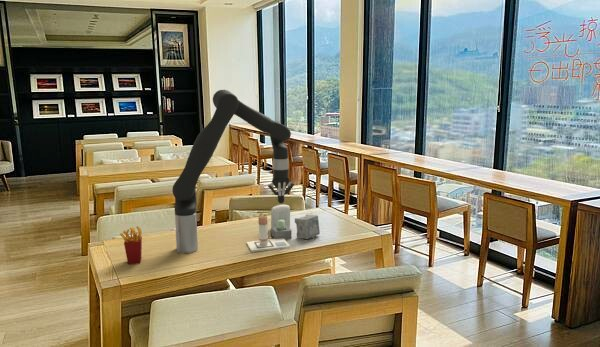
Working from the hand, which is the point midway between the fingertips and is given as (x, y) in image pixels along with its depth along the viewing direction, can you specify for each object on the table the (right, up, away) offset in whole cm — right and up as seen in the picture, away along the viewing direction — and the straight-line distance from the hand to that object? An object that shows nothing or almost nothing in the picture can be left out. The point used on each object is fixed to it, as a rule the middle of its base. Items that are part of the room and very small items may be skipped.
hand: (281, 202), depth 225 cm
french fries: (-62, -23, -26) cm, 71 cm away
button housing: (0, -17, +4) cm, 17 cm away
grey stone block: (+13, -17, +4) cm, 21 cm away
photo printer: (-1, -14, +16) cm, 21 cm away
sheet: (-6, -19, -8) cm, 22 cm away
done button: (0, -15, +3) cm, 15 cm away
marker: (-7, -18, -9) cm, 22 cm away
